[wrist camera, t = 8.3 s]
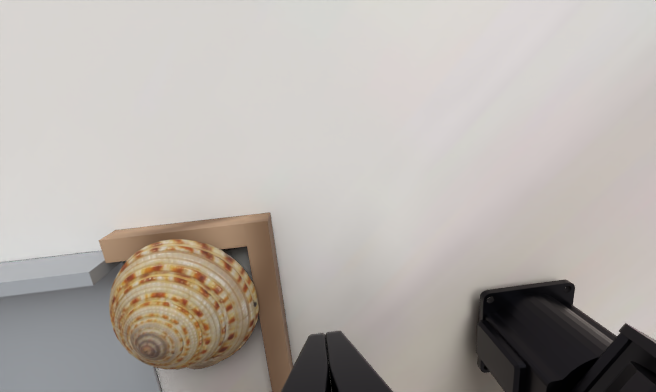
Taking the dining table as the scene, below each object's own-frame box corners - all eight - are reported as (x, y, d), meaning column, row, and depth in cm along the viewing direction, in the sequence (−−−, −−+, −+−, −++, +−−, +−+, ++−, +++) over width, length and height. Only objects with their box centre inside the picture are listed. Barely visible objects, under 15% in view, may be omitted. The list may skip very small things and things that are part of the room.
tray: (120, 248, 19) (88, 272, 17) (170, 423, 23) (152, 467, 20) (-124, 277, 19) (-201, 307, 16) (-31, 453, 22) (-81, 504, 19)
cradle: (270, 212, 20) (267, 220, 18) (300, 416, 24) (300, 437, 22) (115, 230, 19) (98, 240, 18) (174, 435, 23) (165, 458, 22)
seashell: (133, 386, 20) (43, 352, 14) (160, 298, 23) (98, 241, 17) (265, 377, 20) (234, 339, 14) (270, 292, 24) (248, 232, 17)
